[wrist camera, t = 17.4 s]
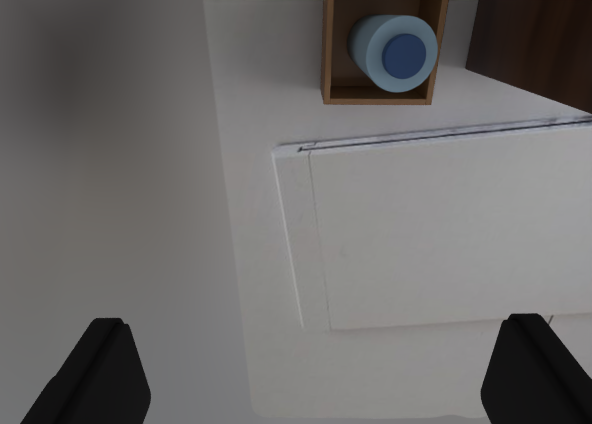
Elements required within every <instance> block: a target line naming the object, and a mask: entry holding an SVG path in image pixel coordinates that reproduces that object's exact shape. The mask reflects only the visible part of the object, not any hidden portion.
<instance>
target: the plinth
mask: <svg viewBox="0 0 592 424" xmlns="http://www.w3.org/2000/svg"><path fill="white" fill-rule="evenodd" d="M465 69H467V70H469V71H472V72H475V73H478V74H481V75H484V76H486V77H489V78H492V79H495V80H498V81H500V82H503V83H506V84H509V85H512V86H514V87H517V88H520V89H523V90H526V91H529V92H531V93H534V94H537V95H540V96H543V97H545V98H548V99H551V100H554V101H557V102H559V103H562V104H565V105H568V106H571V107H574V108H576V109H579V110H582V111H585V112H588V113H590V114H592V0H479V3H478V8H477V13H476V18H475V23H474V28H473V33H472V38H471V43H470V48H469V53H468V58H467V63H466V68H465Z"/></svg>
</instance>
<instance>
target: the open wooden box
mask: <svg viewBox="0 0 592 424" xmlns="http://www.w3.org/2000/svg"><path fill="white" fill-rule="evenodd" d="M448 1H449V0H323V30H322V62H321V94H322V98H323V103H324V104H341V105H431V102H432V96H433V90H434V84H435V78H436V72H437V66H438V60H439V54H440V48H441V42H442V36H443V30H444V24H445V18H446V13H447V7H448ZM371 14H381V15H406V16H414V17H417V18H420V19H422V20H423V21H425V22H426V23H427V24H428V25H429V26H430V27H431V29H432V30H433V32H434V34H435V36H436V39H437V45H438V53H437V59H436V62H435V65H434V67H433V69H432V71H431V73H430V74H429V76H428V77H427V78H426V79H425V80H424V81H423V82H422V83H421V84H420V85H418V86H417V87H415V88H413V89H411V90H408V91H404V92H390V91H386V90H384V89H382V88H380V87H379V86H377V85H376V84H375V83H374V82H373V81H372V80H371V79H370V78H369V77H368V76H367V75H366V74H365V73H364V72H363V71H362V70H361V69H360V68H359V67H358V66H357V65H356V64H355V63H354V62H353V60H352V59H351V58H350V56H349V53H348V50H347V38H348V35H349V32H350V30H351V28H352V26H353V25H354V24H355V23H356V22H357V21H358V20H359V19H361V18H362V17H364V16H367V15H371Z"/></svg>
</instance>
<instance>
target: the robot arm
mask: <svg viewBox="0 0 592 424" xmlns="http://www.w3.org/2000/svg"><path fill="white" fill-rule="evenodd" d="M150 400H151V393H150V389H149V386H148V383H147V380H146V377H145V373H144V370H143V367H142V364H141V361H140V358H139V354H138V351H137V348H136V345H135V342H134V339H133V336H132V332H131V329H130V327H129V325H128V324H124V323H123V321H122V319H121V318H96V319H94V320H93V321H92V322H91V323H90V325H89V327H88V328H87V329H86V331H85V332H84V334H83V335H82V337H81V338H80V340H79V341H78V343H77V344H76V346H75V348H74V349H73V350H72V352H71V353H70V355H69V357H68V358H67V359H66V361H65V362H64V364H63V365H62V367H61V368H60V370H59V371H58V373H57V374H56V376H54V377H53V378H52V379H51V380H50V381H49V383H48V384H47V385H46V387H45V388H44V389H43V391H42V392H41V394H40V395H39V397H38V398H37V400H36V401H35V403H34V404H33V406H32V407H31V409H30V410H29V412H28V413H27V414H26V416H25V417H24V419H23V421H22V422H21V423H20V424H143V421H144V419H145V416H146V414H147V411H148V408H149V405H150ZM481 400H482V404H483V406H484V409H485V411H486V413H487V415H488V417H489V420H490V422H491V424H592V379H591V378H590V377H589V376H588V375H587V373H586V372H585V371H584V370H583V368H582V367H581V366H580V365H579V363H578V362H577V361H576V359H575V358H574V357H573V356H572V354H571V353H570V352H569V350H568V349H567V348H566V347H565V345H564V344H563V343H562V342H561V340H560V339H559V338H558V336H557V335H556V334H555V333H554V331H553V330H552V329H551V327H550V326H549V325H548V324H547V322H546V321H545V320H544V318H543V317H542V316H541V315H539V314H537V313H532V314H511V315H510V316H509V318H508V320H504V321H503V322H502V324H501V327H500V331H499V334H498V337H497V340H496V343H495V346H494V350H493V353H492V356H491V359H490V362H489V366H488V369H487V372H486V375H485V378H484V381H483V385H482V388H481Z"/></svg>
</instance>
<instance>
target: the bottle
mask: <svg viewBox="0 0 592 424" xmlns="http://www.w3.org/2000/svg"><path fill="white" fill-rule="evenodd" d="M347 50H348V53H349V56H350V58H351V59H352V60H353V62H354V63H355V64H356V65H357V66H358V67H359V68H360V69H361V70H362V71H363V72H364V73H365V74H366V75H367V76H368V77H369V78H370V79H371V80H372V81H373V82H374V83H375V84H376V85H377V86H379V87H380V88H382V89H384V90H386V91H390V92H404V91H408V90H411V89H413V88H415V87H417V86H418V85H420V84H421V83H422V82H423V81H424V80H425V79H426V78H427V77H428V76H429V74H430V73H431V71H432V69H433V67H434V65H435V62H436V59H437V53H438V45H437V39H436V36H435V34H434V32H433V30H432V29H431V27H430V26H429V25H428V24H427V23H426V22H425V21H423V20H422V19H420V18H417V17H414V16H406V15H381V14H371V15H367V16H364V17H362V18H361V19H359V20H358V21H357V22H356V23H355V24H354V25H353V26H352V28H351V30H350V32H349V35H348V38H347Z"/></svg>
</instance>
